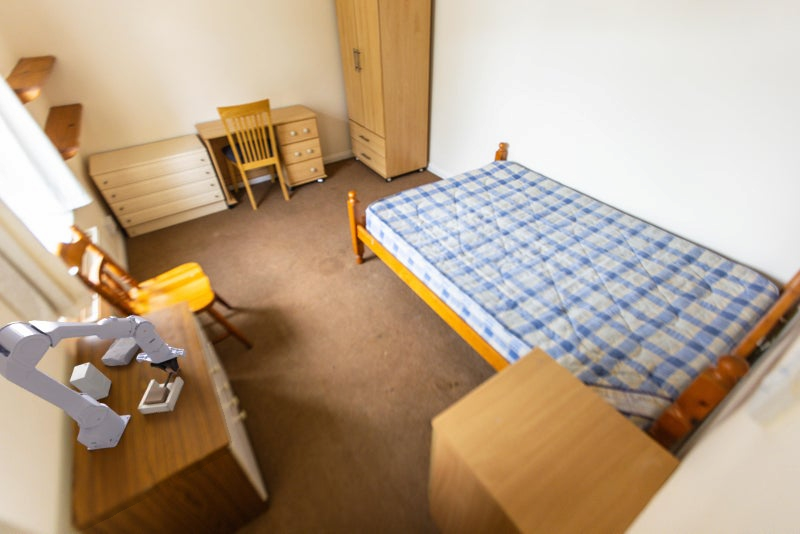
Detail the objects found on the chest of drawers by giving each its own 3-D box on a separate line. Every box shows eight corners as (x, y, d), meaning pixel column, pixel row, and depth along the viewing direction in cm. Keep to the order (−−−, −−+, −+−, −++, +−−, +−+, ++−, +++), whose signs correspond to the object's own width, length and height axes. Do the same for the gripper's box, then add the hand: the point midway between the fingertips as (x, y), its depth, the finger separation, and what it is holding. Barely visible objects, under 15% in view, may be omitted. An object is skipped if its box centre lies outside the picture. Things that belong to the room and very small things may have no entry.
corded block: (167, 406, 110) (160, 400, 107) (151, 408, 110) (144, 401, 107) (184, 367, 121) (178, 360, 118) (169, 368, 121) (163, 361, 118)
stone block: (105, 369, 124) (129, 365, 123) (95, 361, 121) (119, 357, 120) (126, 343, 134) (148, 339, 132) (117, 335, 131) (139, 331, 129)
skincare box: (97, 386, 117) (74, 366, 109) (112, 381, 118) (90, 361, 110) (93, 401, 113) (68, 382, 105) (108, 396, 114) (84, 377, 106)
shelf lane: (172, 410, 110) (167, 405, 107) (143, 414, 109) (137, 408, 107) (184, 382, 117) (179, 376, 115) (156, 385, 117) (151, 379, 114)
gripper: (181, 333, 114) (198, 357, 122) (135, 338, 113) (156, 361, 122) (173, 351, 108) (191, 375, 117) (125, 356, 107) (147, 379, 116)
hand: (173, 369), depth 119 cm, fingers closed on corded block, 2 cm apart
